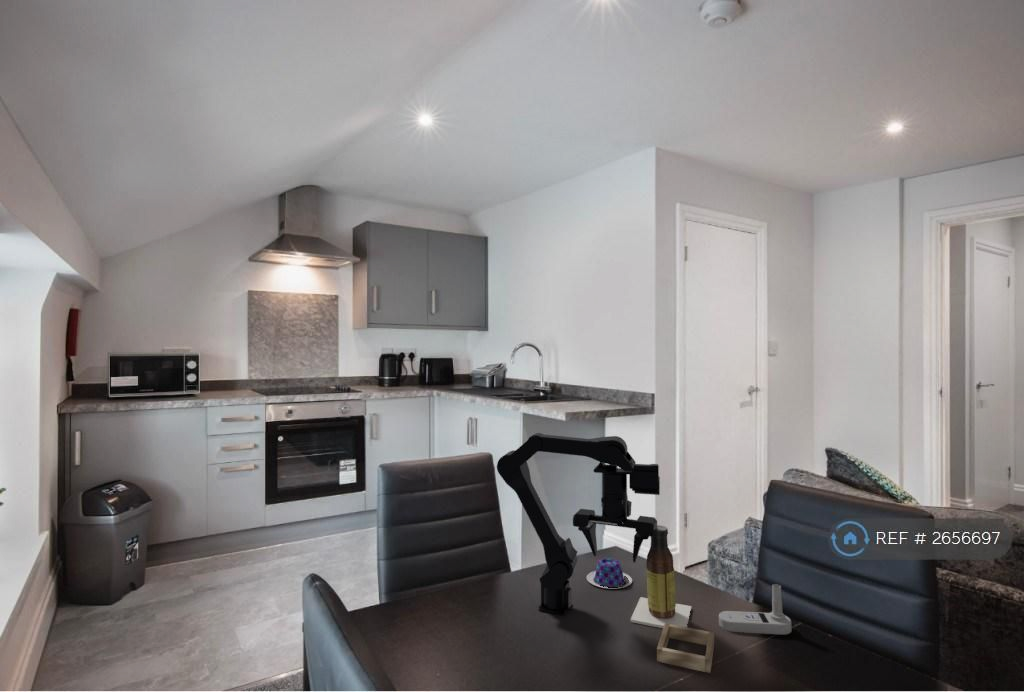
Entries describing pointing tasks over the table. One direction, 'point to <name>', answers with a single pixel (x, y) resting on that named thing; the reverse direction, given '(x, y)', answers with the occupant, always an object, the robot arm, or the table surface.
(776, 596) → the electronic device
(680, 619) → the coaster
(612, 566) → the pudding
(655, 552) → the sauce bottle
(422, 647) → the table surface
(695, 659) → the bottle holder
